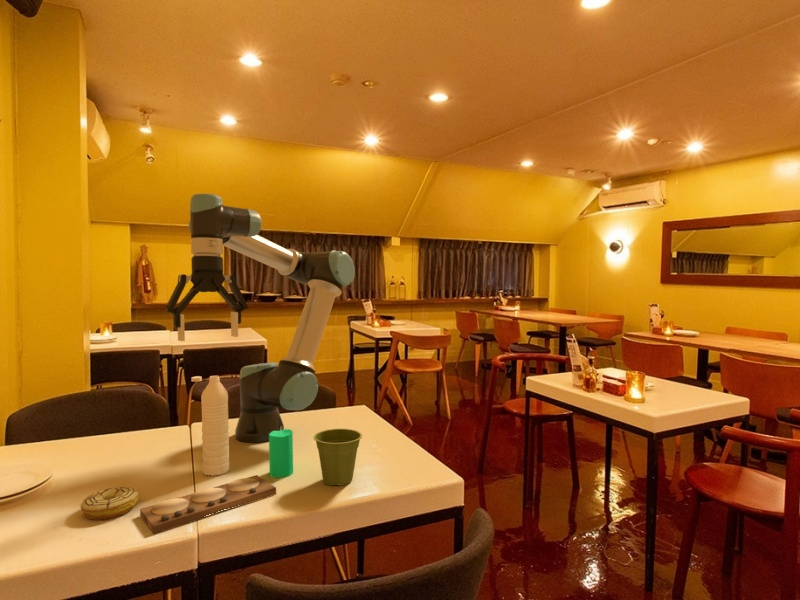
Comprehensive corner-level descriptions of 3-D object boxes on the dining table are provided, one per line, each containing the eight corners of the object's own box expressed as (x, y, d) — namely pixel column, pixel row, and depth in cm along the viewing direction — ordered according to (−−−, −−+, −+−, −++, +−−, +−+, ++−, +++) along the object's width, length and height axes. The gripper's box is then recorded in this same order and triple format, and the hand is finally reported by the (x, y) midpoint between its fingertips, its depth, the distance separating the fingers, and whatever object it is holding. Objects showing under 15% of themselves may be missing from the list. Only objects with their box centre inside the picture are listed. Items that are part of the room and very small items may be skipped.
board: (140, 515, 100) (139, 505, 100) (256, 480, 118) (256, 472, 118) (153, 533, 93) (153, 523, 93) (276, 493, 110) (275, 485, 110)
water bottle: (229, 465, 128) (227, 372, 127) (229, 474, 122) (227, 377, 121) (194, 469, 125) (192, 375, 125) (192, 479, 119) (190, 379, 118)
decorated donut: (113, 497, 110) (113, 481, 110) (149, 503, 106) (149, 486, 106) (69, 518, 100) (68, 500, 100) (107, 525, 97) (107, 507, 97)
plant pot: (349, 493, 110) (348, 445, 110) (304, 486, 114) (304, 440, 114) (370, 474, 121) (369, 430, 121) (328, 468, 125) (328, 426, 125)
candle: (296, 468, 125) (295, 423, 125) (289, 477, 120) (288, 430, 119) (274, 468, 126) (273, 423, 126) (265, 477, 120) (265, 430, 120)
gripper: (159, 253, 111) (161, 344, 112) (259, 256, 128) (261, 335, 128) (149, 254, 116) (152, 341, 117) (247, 258, 133) (248, 333, 134)
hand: (209, 338), depth 123 cm, fingers open, 13 cm apart
